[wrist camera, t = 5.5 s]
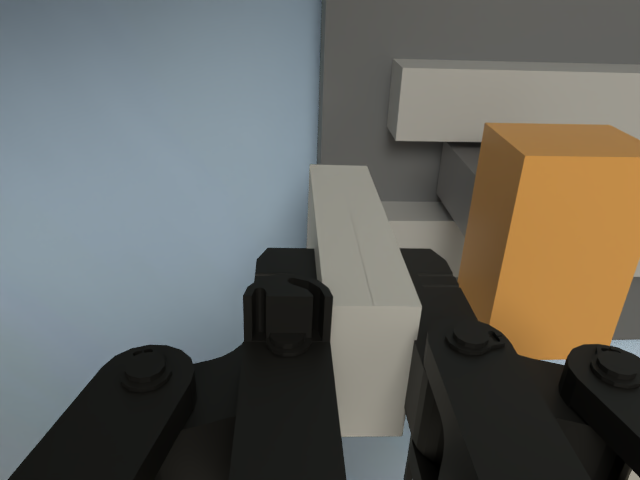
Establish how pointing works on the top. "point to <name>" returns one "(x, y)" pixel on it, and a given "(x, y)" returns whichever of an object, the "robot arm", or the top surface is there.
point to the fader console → (467, 93)
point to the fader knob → (546, 230)
